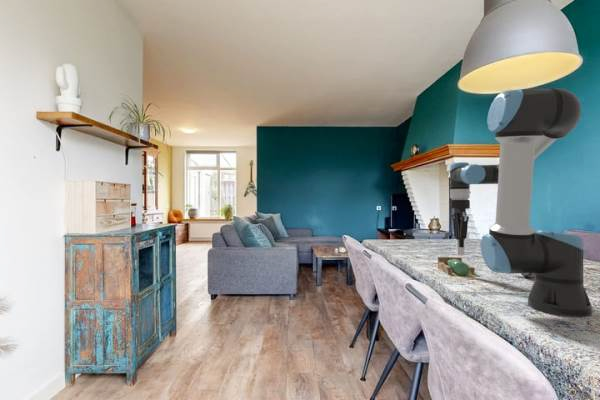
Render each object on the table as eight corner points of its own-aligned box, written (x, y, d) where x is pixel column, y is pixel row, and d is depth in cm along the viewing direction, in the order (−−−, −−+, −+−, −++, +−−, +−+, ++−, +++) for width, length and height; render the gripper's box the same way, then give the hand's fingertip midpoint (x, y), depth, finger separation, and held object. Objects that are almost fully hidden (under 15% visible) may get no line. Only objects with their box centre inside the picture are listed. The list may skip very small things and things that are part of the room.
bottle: (468, 262, 138) (455, 256, 153) (455, 263, 139) (443, 257, 153) (470, 275, 138) (457, 268, 153) (456, 276, 138) (444, 269, 153)
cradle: (482, 281, 133) (482, 266, 133) (453, 281, 134) (453, 266, 134) (461, 270, 155) (461, 257, 155) (437, 270, 156) (436, 256, 156)
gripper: (475, 199, 134) (476, 257, 134) (463, 199, 147) (463, 252, 147) (456, 199, 135) (456, 257, 135) (445, 199, 148) (446, 252, 148)
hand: (460, 254), depth 141 cm, fingers closed
